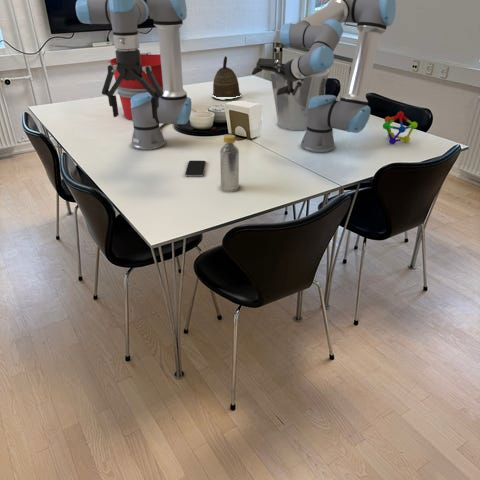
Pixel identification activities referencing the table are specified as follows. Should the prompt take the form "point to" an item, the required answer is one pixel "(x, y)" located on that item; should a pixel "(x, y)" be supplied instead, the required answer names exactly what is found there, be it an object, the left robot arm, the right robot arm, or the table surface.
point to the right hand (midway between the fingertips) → (266, 82)
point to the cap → (229, 138)
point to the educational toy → (398, 128)
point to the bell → (225, 82)
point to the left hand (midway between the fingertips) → (135, 116)
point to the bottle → (229, 167)
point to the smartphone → (195, 168)
